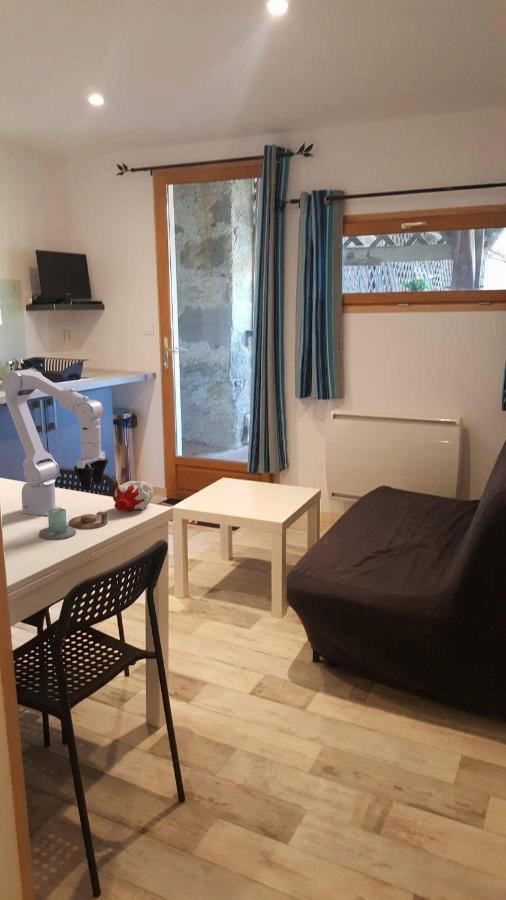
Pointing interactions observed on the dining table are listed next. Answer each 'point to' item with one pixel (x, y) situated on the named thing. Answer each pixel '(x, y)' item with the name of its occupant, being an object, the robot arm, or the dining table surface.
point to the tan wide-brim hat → (89, 521)
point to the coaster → (67, 534)
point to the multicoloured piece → (133, 495)
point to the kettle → (57, 521)
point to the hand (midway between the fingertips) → (92, 486)
